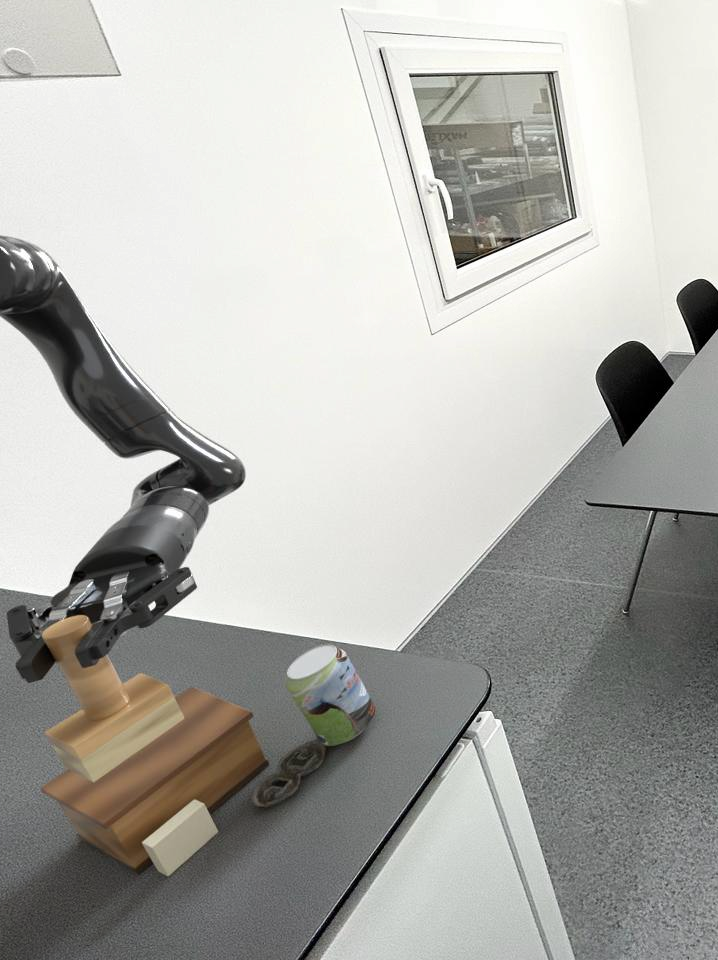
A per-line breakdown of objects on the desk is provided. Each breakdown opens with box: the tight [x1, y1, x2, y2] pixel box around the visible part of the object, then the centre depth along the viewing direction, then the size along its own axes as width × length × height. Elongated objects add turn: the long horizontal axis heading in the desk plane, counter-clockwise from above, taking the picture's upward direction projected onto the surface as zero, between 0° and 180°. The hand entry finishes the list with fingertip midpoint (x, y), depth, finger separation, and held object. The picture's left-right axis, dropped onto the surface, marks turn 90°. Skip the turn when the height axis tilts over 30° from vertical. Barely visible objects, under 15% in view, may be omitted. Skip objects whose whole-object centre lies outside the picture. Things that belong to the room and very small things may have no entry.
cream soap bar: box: [142, 799, 219, 877], centre depth 64 cm, size 4×4×2 cm
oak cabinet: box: [39, 686, 270, 876], centre depth 69 cm, size 11×13×8 cm
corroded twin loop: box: [251, 739, 327, 808], centre depth 72 cm, size 5×8×1 cm, turn 173°
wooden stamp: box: [42, 615, 184, 782], centre depth 58 cm, size 4×7×15 cm, turn 161°
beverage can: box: [285, 644, 376, 747], centre depth 76 cm, size 6×7×12 cm
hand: (57, 666), depth 54 cm, fingers closed on wooden stamp, 3 cm apart
